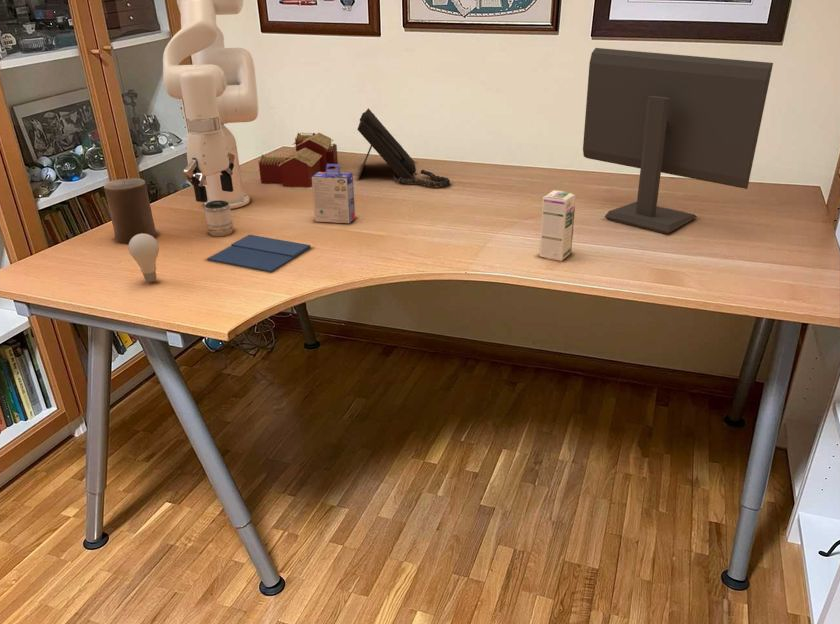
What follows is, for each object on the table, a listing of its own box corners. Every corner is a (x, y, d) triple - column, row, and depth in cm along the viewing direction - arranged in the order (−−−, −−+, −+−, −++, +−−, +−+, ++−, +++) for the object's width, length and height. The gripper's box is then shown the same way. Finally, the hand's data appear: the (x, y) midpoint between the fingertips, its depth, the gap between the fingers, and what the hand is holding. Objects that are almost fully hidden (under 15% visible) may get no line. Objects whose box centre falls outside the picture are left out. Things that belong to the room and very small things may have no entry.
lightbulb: (140, 277, 157) (129, 230, 152) (168, 275, 157) (159, 228, 152) (133, 288, 152) (122, 240, 146) (162, 287, 152) (152, 238, 147)
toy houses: (318, 187, 214) (316, 153, 209) (253, 185, 217) (249, 152, 212) (350, 150, 253) (348, 121, 248) (294, 149, 255) (291, 120, 250)
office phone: (450, 188, 211) (450, 118, 201) (355, 189, 212) (351, 119, 202) (448, 162, 237) (448, 99, 227) (363, 163, 237) (360, 100, 227)
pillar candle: (141, 245, 174) (127, 185, 167) (107, 241, 177) (93, 182, 169) (164, 231, 182) (152, 174, 175) (132, 228, 185) (119, 171, 177)
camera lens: (211, 228, 184) (206, 199, 180) (235, 227, 184) (231, 198, 180) (206, 237, 178) (201, 207, 174) (231, 236, 179) (226, 206, 175)
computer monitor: (746, 230, 178) (785, 59, 158) (719, 248, 167) (757, 67, 148) (593, 195, 204) (610, 44, 184) (562, 209, 193) (576, 51, 174)
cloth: (207, 260, 165) (207, 256, 165) (249, 237, 178) (249, 234, 177) (271, 272, 158) (270, 269, 158) (310, 248, 171) (310, 245, 171)
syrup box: (562, 261, 161) (567, 199, 154) (538, 256, 164) (542, 195, 157) (571, 253, 166) (577, 192, 158) (547, 248, 168) (552, 189, 161)
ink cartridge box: (356, 217, 190) (353, 163, 183) (350, 224, 185) (347, 169, 178) (321, 215, 192) (316, 161, 185) (314, 222, 187) (309, 167, 180)
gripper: (215, 117, 176) (225, 186, 184) (166, 131, 162) (179, 204, 170) (239, 119, 173) (249, 189, 181) (191, 133, 159) (203, 207, 168)
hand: (215, 196), depth 176 cm, fingers open, 9 cm apart
